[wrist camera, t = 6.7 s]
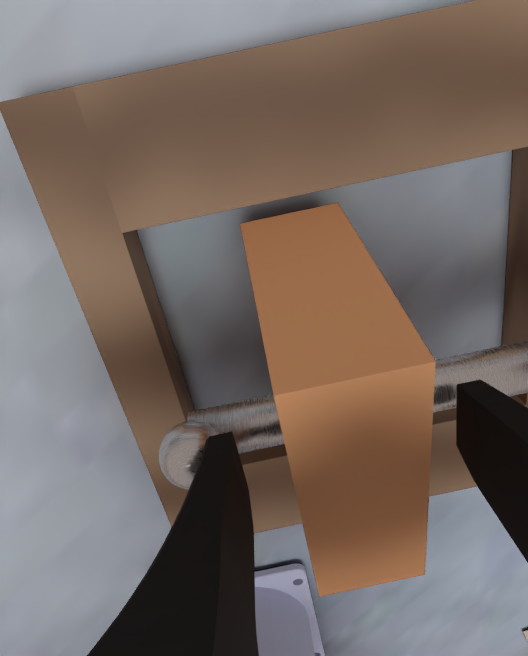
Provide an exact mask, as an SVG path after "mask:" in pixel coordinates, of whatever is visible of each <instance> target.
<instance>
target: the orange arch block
mask: <svg viewBox="0 0 528 656" xmlns="http://www.w3.org/2000/svg"><path fill="white" fill-rule="evenodd" d="M240 226H241V231H242V236H243V241H244V246H245V251H246V257H247V262H248V267H249V272H250V277H251V282H252V287H253V292H254V297H255V302H256V308H257V313H258V318H259V323H260V328H261V333H262V338H263V343H264V348H265V354H266V359H267V364H268V369H269V374H270V379H271V384H272V389H273V394H274V399H275V403H276V408H277V412H278V417H279V421H280V426H281V430H282V434H283V439H284V443H285V448H286V452H287V457H288V461H289V465H290V470H291V474H292V479H293V483H294V488H295V492H296V496H297V501H298V505H299V510H300V514H301V519H302V523H303V527H304V532H305V536H306V541H307V545H308V550H309V554H310V559H311V563H312V567H313V572H314V576H315V581H316V585H317V590H318V594H319V597H321V596H325V595H330V594H335V593H340V592H344V591H349V590H354V589H359V588H363V587H368V586H373V585H378V584H383V583H387V582H392V581H397V580H402V579H406V578H411V577H416V576H421V575H425V562H426V542H427V522H428V503H429V483H430V463H431V444H432V424H433V404H434V385H435V365H436V361H435V360H434V358H433V356H432V355H431V353H430V351H429V350H428V348H427V347H426V345H425V343H424V342H423V340H422V338H421V337H420V335H419V334H418V332H417V330H416V329H415V327H414V325H413V324H412V322H411V321H410V319H409V317H408V316H407V314H406V312H405V311H404V309H403V308H402V306H401V304H400V303H399V301H398V299H397V298H396V296H395V295H394V293H393V291H392V290H391V288H390V286H389V285H388V283H387V282H386V280H385V278H384V277H383V275H382V273H381V272H380V270H379V269H378V267H377V265H376V264H375V262H374V260H373V259H372V257H371V256H370V254H369V252H368V251H367V249H366V247H365V246H364V244H363V243H362V241H361V239H360V238H359V236H358V234H357V233H356V231H355V230H354V228H353V226H352V225H351V223H350V221H349V220H348V218H347V217H346V215H345V213H344V212H343V210H342V208H341V207H340V205H339V204H338V203H334V204H329V205H325V206H320V207H315V208H311V209H306V210H301V211H297V212H292V213H287V214H283V215H278V216H273V217H269V218H264V219H259V220H255V221H250V222H245V223H241V224H240Z"/></svg>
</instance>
